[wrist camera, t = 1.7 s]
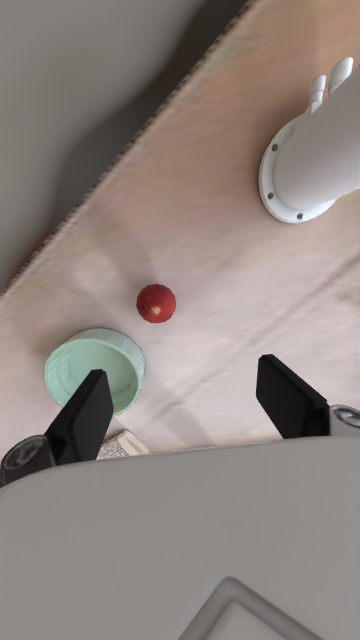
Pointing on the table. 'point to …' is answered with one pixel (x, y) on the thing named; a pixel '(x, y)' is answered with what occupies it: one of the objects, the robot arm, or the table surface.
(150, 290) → the onion
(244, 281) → the table surface
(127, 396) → the bowl
